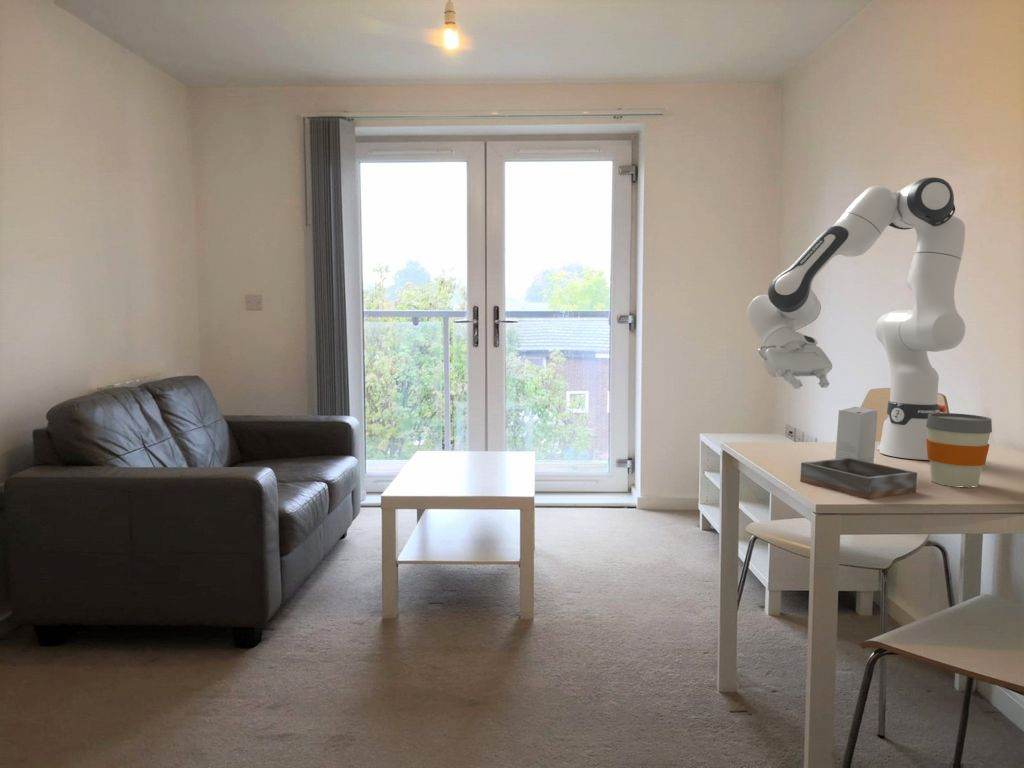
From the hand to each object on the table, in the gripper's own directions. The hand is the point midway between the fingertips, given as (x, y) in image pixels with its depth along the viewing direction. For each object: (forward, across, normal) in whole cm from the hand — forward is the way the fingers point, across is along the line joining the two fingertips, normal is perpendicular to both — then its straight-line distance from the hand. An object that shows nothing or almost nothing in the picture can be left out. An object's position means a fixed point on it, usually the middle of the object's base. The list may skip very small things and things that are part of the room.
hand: (812, 386), depth 186 cm
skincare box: (+23, 0, +4) cm, 23 cm away
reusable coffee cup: (+36, +10, -9) cm, 38 cm away
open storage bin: (+31, -14, -5) cm, 35 cm away
